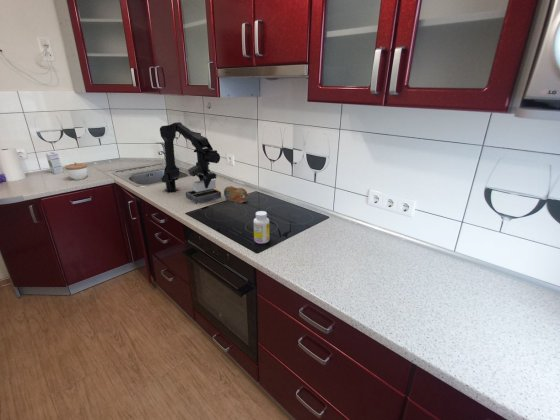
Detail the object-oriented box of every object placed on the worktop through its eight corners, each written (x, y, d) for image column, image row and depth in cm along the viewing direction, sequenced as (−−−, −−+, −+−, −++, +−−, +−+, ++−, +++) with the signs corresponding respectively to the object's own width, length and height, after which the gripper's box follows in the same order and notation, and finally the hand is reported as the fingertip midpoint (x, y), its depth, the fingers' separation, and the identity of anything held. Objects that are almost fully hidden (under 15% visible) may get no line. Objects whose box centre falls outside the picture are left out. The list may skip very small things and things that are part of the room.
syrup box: (63, 172, 219) (58, 152, 213) (54, 174, 214) (48, 154, 209) (59, 171, 222) (54, 151, 216) (50, 173, 217) (45, 153, 212)
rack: (186, 197, 176) (185, 191, 174) (210, 191, 186) (210, 185, 184) (195, 203, 167) (195, 197, 165) (221, 197, 176) (220, 191, 175)
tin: (223, 199, 174) (223, 185, 171) (227, 197, 176) (226, 184, 173) (245, 204, 167) (245, 190, 164) (248, 202, 170) (248, 188, 167)
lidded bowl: (74, 182, 199) (70, 165, 194) (64, 179, 205) (60, 163, 200) (93, 177, 209) (90, 162, 205) (83, 174, 215) (79, 159, 210)
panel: (193, 190, 169) (193, 182, 167) (212, 186, 177) (212, 178, 175) (196, 192, 167) (195, 183, 165) (215, 188, 174) (215, 179, 172)
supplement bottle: (266, 235, 133) (266, 209, 128) (271, 242, 127) (271, 215, 122) (252, 238, 130) (251, 211, 126) (256, 245, 125) (256, 217, 120)
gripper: (181, 159, 167) (184, 186, 173) (196, 166, 154) (199, 194, 160) (200, 157, 174) (202, 182, 180) (216, 163, 161) (217, 190, 167)
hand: (204, 187), depth 171 cm, fingers closed on panel, 3 cm apart
